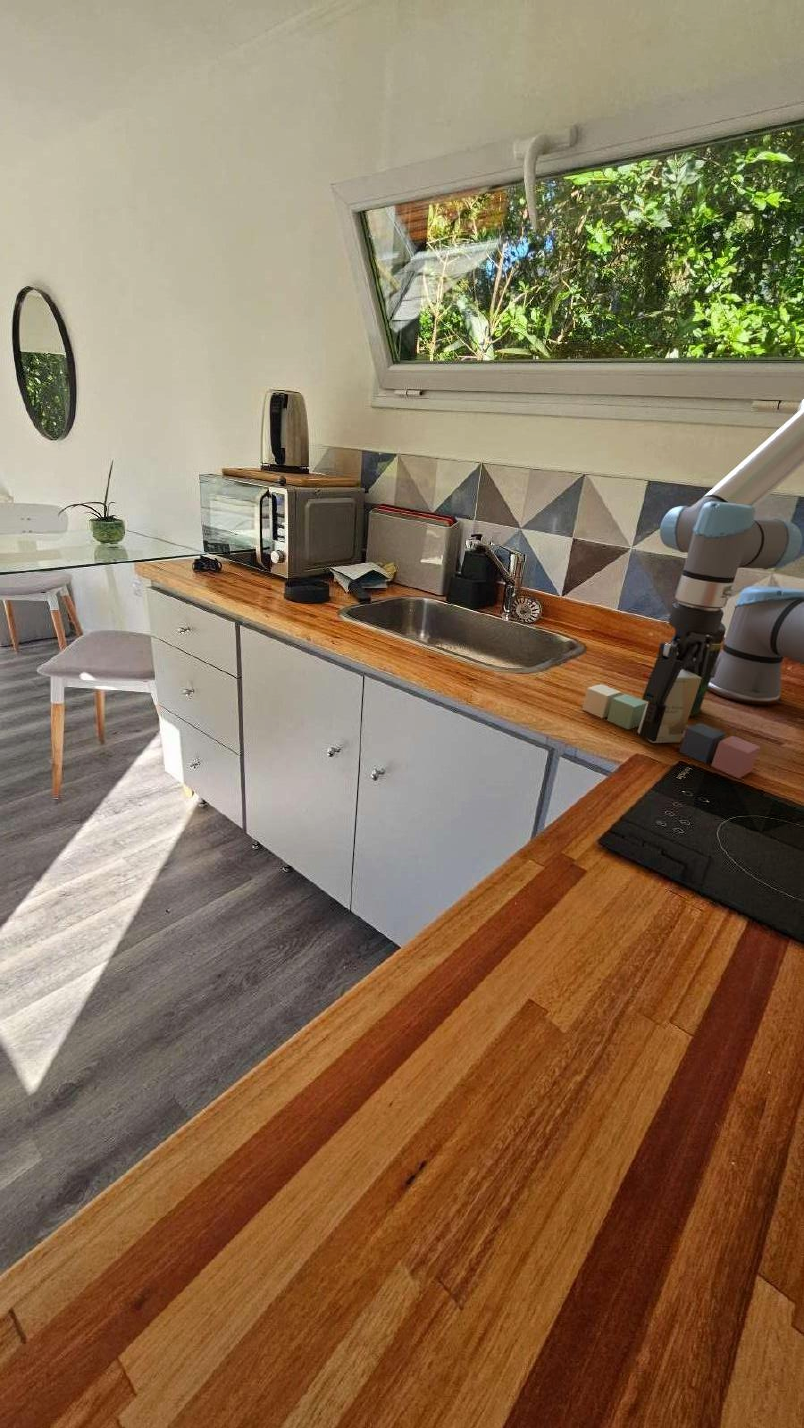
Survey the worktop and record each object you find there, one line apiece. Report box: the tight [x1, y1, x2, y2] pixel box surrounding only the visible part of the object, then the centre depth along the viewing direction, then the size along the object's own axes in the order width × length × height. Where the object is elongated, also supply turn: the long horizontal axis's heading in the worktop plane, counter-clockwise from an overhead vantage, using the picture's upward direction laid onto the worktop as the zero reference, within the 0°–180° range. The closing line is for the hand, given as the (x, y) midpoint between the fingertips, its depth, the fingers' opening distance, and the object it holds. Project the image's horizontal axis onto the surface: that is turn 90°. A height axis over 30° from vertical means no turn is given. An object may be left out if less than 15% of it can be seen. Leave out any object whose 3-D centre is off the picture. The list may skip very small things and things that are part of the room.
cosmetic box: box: [637, 669, 702, 744], centre depth 102 cm, size 6×4×12 cm
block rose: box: [710, 735, 761, 779], centre depth 95 cm, size 4×4×4 cm
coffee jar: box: [675, 622, 727, 717], centre depth 115 cm, size 10×8×19 cm
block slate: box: [678, 722, 726, 764], centre depth 99 cm, size 4×4×4 cm
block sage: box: [606, 693, 647, 731], centre depth 108 cm, size 4×4×4 cm
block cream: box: [581, 683, 622, 719], centre depth 112 cm, size 4×4×4 cm
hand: (661, 732), depth 104 cm, fingers open, 8 cm apart
